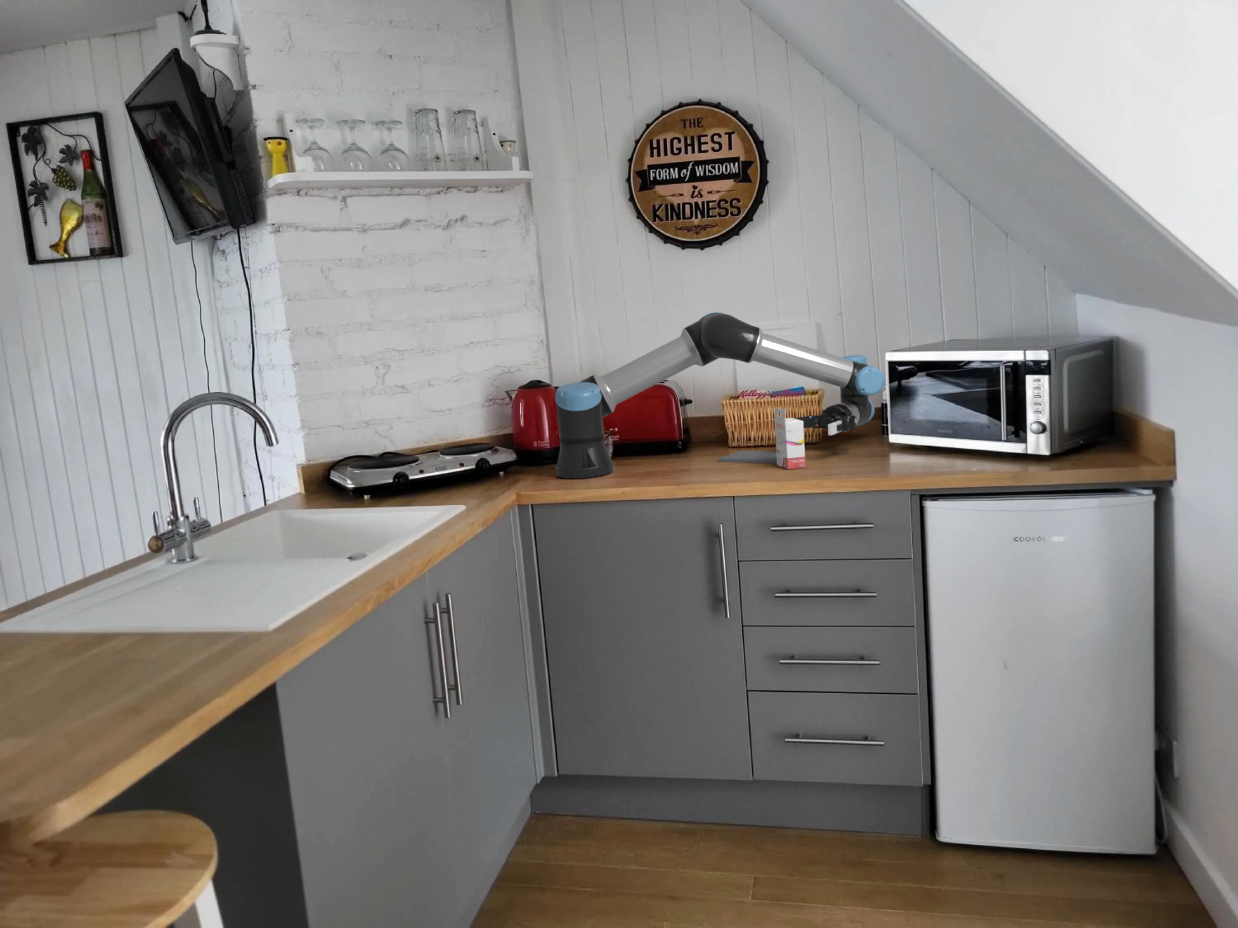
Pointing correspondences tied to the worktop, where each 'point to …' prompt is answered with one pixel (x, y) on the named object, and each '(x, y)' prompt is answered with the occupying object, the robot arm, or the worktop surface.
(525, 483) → the worktop surface
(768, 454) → the charcoal mat
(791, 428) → the ink cartridge box
